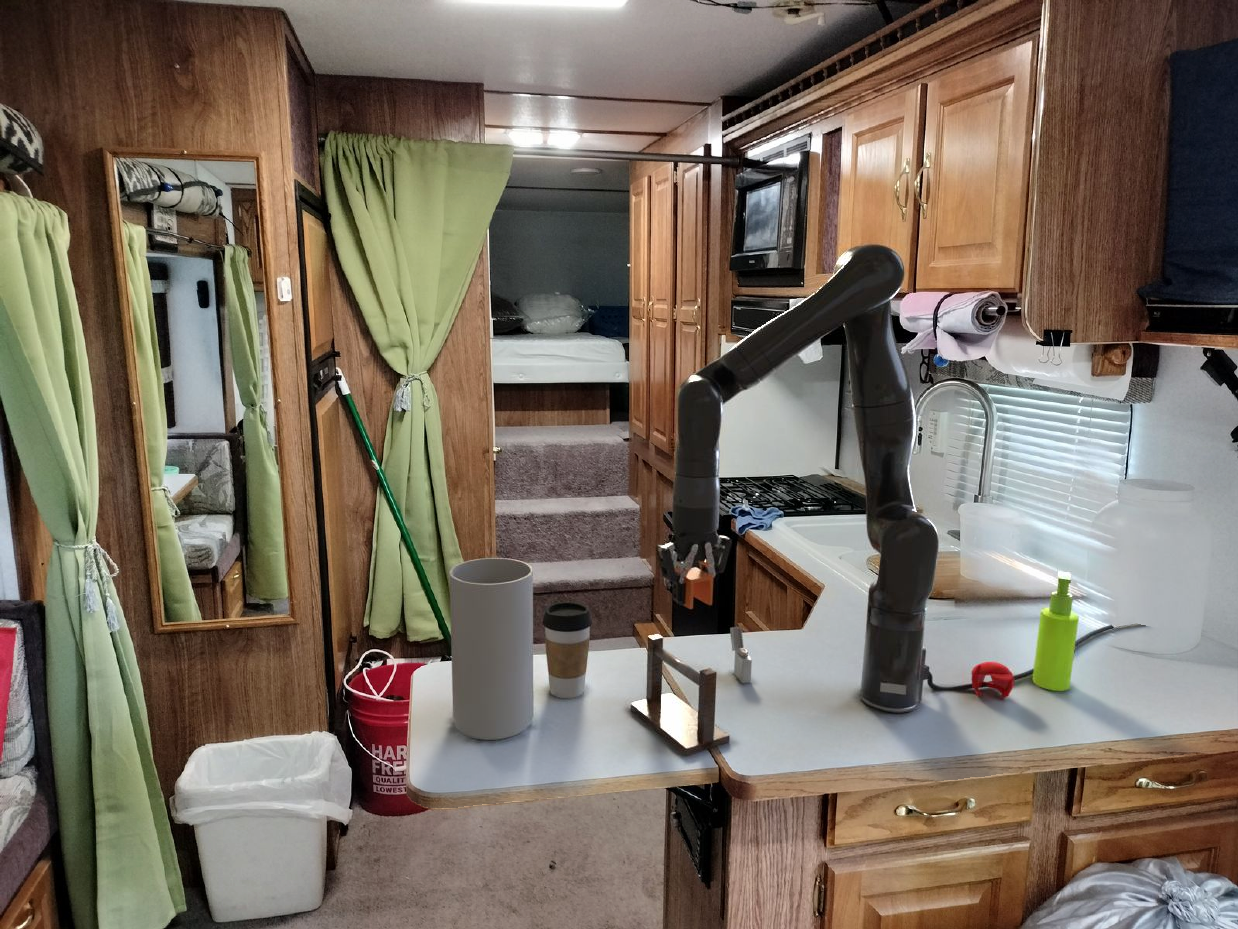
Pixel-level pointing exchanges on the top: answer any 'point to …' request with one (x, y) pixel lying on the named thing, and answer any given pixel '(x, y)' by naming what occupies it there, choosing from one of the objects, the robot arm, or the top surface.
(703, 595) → the clip
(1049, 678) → the soap dispenser
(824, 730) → the top surface
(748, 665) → the lighter
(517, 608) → the cylinder vase
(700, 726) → the handle stand
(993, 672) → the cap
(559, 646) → the coffee cup
